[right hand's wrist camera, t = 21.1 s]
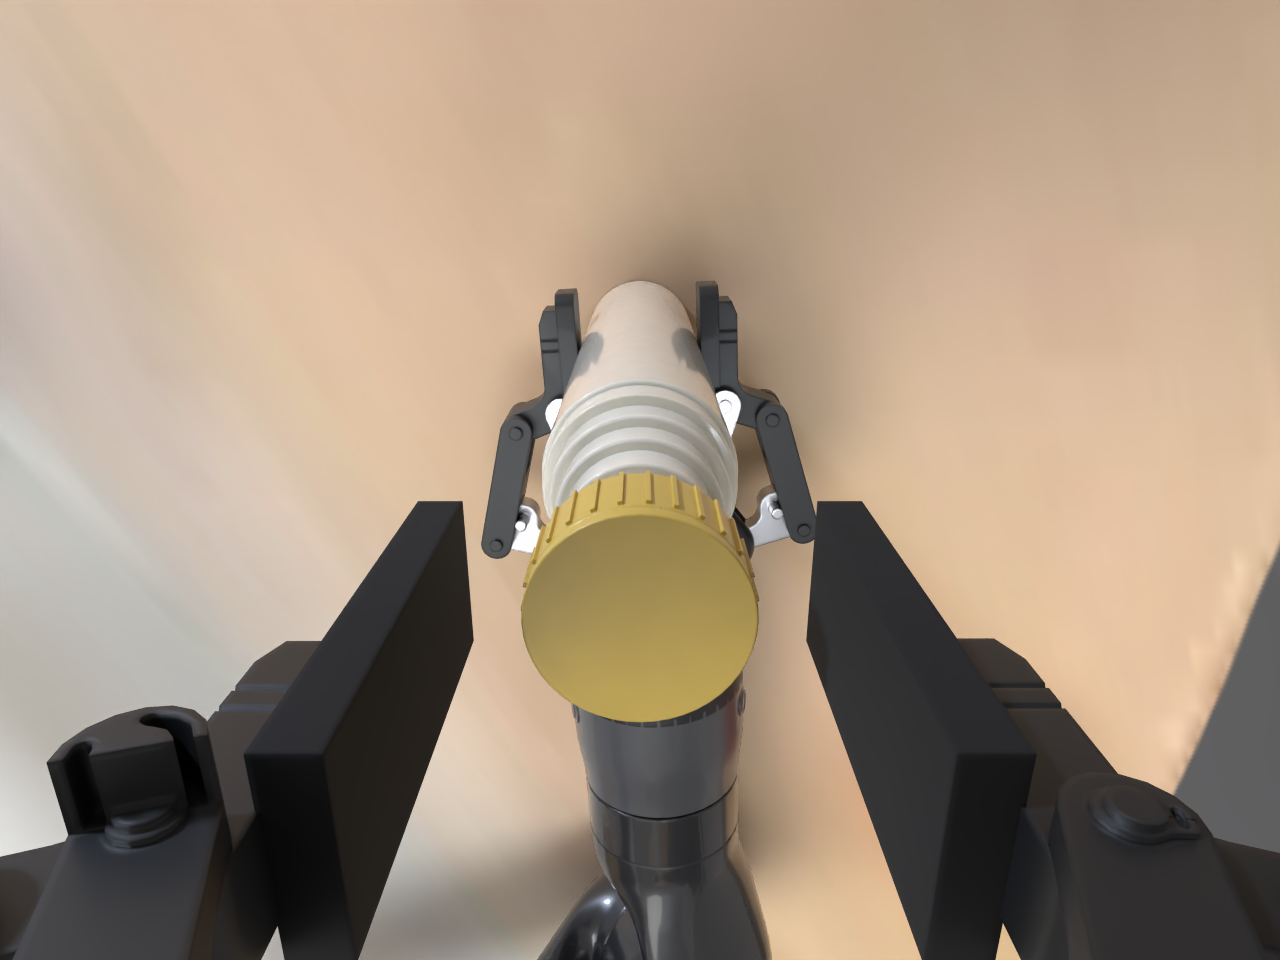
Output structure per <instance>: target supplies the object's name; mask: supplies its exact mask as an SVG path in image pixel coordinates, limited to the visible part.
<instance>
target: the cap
mask: <svg viewBox="0 0 1280 960" xmlns="http://www.w3.org/2000/svg"><path fill="white" fill-rule="evenodd" d="M753 577H755V576H754V573H753V569H752V566H751V562H750V559H749V555H748V552H747V548H746V545H745V542H744V539H743V538H741V539H740V538H739V534H738V530H737V527H736V523H735V520H734V518H733V517H731V518H730V519H729V517H728V516H727V514H726V513H725V512H724V511H723V510H722V508H721V506H720V502H719V501H718V500H717V499H715V500H712V499H711V498H710V497H709V496H708V495H706V494H705V493H703V492H702V491H700V487H699V486H698V485H696V484H695V486H691V485H690V484H687V483H685V482H683V481H680V480H677V479H676V476H674V475H671V477H667V476H663V475H658V474H650V471H645V473H635V474H624V472H619V475H618V476H613V477H609V478H606V479H603V480H599V478H597V479H595V480H594V483H593V484H590V485H589V486H587V487H585V488H583V489H581V490H580V491H578V492H577V490H574V491H573V492H572V494H571V497H570V498H569V499H568V500H567V501H565V502H564V503H563V504H562V505H561V506H560V507H558V506H556V507H555V508H554V510H553V514H552V517H551V519H550V520H549V522H548V523H547V525H546V527H545V526H543V525H542V527H541V529H540V533H539V536H538V540H537V543H536V547H534V549H533V552H532V555H531V559H530V562H529V566H528V569H527V573H526V576H525V580H524V583H523V587H526V590H525V594H524V598H523V602H522V605H521V611H522V630H523V637H524V640H525V644H526V647H527V650H528V653H529V655H530V657H531V659H532V661H533V663H534V665H535V666H536V668H537V670H538V671H539V673H540V674H541V676H542V677H543V678H544V679H545V680H546V682H547V683H548V684H549V685H550V686H551V687H552V688H553V689H554V690H555V691H556V692H558V693H559V694H560V695H561V696H562V697H564V698H565V699H567V700H568V701H569V702H571V703H573V704H574V705H576V706H578V707H580V708H582V709H583V710H586V711H588V712H591V713H593V714H596V715H598V716H602V717H605V718H609V719H614V720H620V721H626V722H653V721H660V720H666V719H671V718H675V717H678V716H682V715H685V714H687V713H689V712H692V711H694V710H697V709H698V708H700V707H702V706H704V705H706V704H707V703H709V702H711V701H712V700H713V699H715V698H716V697H718V696H719V695H720V694H721V693H723V692H724V691H725V690H726V689H727V688H728V687H729V686H730V685H731V684H732V683H733V682H734V680H735V679H736V678H737V677H738V675H739V674H740V673H741V671H742V670H743V668H744V666H745V665H746V663H747V661H748V659H749V657H750V655H751V652H752V650H753V647H754V644H755V640H756V637H757V630H758V604H757V602H758V601H759V596H758V593H757V589H756V586H755V582H754V579H753Z"/></svg>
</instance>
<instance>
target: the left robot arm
mask: <svg viewBox="0 0 1280 960" xmlns="http://www.w3.org/2000/svg"><path fill="white" fill-rule="evenodd" d="M696 315H697V343H698V345H699V348H700V351H701V354H702V357H703V359H704V362H705V365H706V368H707V371H708V373H709V376H710V379H711V382H712V385H713V387H714V390H715V393H716V396H717V399H718V402H719V404H720V407H721V410H722V413H723V416H724V418H725V421H726V424H727V427H728V430H729V432H730V435H731V437H732V434H733V431H734V428H735V425H736V423H738V424H741V425H745V426H748V427H751V428H755V430H756V433H757V437H758V440H759V444H760V447H761V450H762V454H763V457H764V461H765V464H766V467H767V471H768V474H769V478H770V481H771V484H772V485H769V486H766V487H764V488H763V489H762V490H761V491H760V492H759V494H758V496H757V504H758V506H757V510H756V512H755V514H754V515H753V516H752V517H750V518H748V519H745V518H744V517H743V515H742V514H741V513H740V512H739V510H738V509H737V508H736V507H735V509H734V512H733V515H732V517H733V518H734V520H735V523H736V527H737V530H738V534H739V538H740V539H741V538H743V539H744V542H745V545H746V548H747V552H748V555H749V559H751V557H752V554H753V551H754V547H757V546H760V545H764V544H767V543H770V542H774V541H777V540H781V539H784V538H787V537H791V539H792V540H793V541H795V542H797V543H801V544H804V543H809V542H811V541H812V540H814V539H815V526H816V515H815V511H814V508H813V504H812V500H811V497H810V493H809V490H808V486H807V483H806V479H805V475H804V472H803V468H802V465H801V461H800V457H799V454H798V450H797V447H796V443H795V439H794V436H793V432H792V429H791V425H790V421H789V418H788V414H787V412H786V411H785V409H784V407H783V406H782V405H781V404H780V402H779V400H778V398H777V396H776V395H775V394H774V393H773V392H772V391H770V390H766V389H762V390H756V389H753V388H750V387H747V386H744V385H743V384H741V383H740V382H739V381H738V352H737V313H736V311H735V308H734V306H733V303H732V301H731V300H730V298H729V297H728V296H719V294H718V285H717V284H716V282H715V281H702V282H696ZM539 333H540V344H541V354H542V365H543V376H544V386H545V391H544V393H543V394H542V395H541V396H539V397H537V398H535V399H533V400H530V401H528V402H521V403H517V404H516V405H514V406H513V407H512V409H511V411H510V412H509V414H508V416H507V418H506V419H505V421H504V423H503V425H502V427H501V430H500V435H499V441H498V447H497V453H496V459H495V465H494V471H493V477H492V483H491V489H490V495H489V501H488V506H487V512H486V518H485V524H484V530H483V536H482V542H481V546H482V549H483V551H484V553H485V554H486V555H488V556H489V557H491V558H495V559H499V558H503V557H505V556H507V555H508V554H509V552H510V550H515V551H520V552H525V553H530V554H532V552H533V549H534V547H536V543H537V540H538V536H539V533H540V529H541V527H542V525H543V526H545V527H546V525H545V524H544V523H543V522H542V520H541V517H540V507H539V505H538V503H537V502H536V501H535V500H533V499H531V498H528V497H525V492H526V487H527V481H528V476H529V470H530V465H531V460H532V454H533V449H534V443H535V439H537V438H539V437H541V436H544V435H546V434H549V433H550V432H551V429H552V426H553V424H554V421H555V418H556V415H557V412H558V410H559V407H560V404H561V401H562V398H563V396H564V393H565V390H566V387H567V384H568V382H569V379H570V376H571V373H572V370H573V368H574V365H575V362H576V359H577V356H578V354H579V351H580V348H581V345H582V342H581V329H580V316H579V303H578V293H577V289H559V290H558V291H557V292H556V293H555V306H547V307H546V308H545V309H544V311H543V313H542V316H541V320H540V323H539ZM571 705H572V712H573V716H574V718H575V720H576V729H577V736H578V740H579V745H580V749H581V753H582V757H583V760H584V764H585V770H586V775H587V789H588V800H589V811H590V823H591V831H592V838H593V844H594V848H595V852H596V855H597V858H598V861H599V863H600V865H601V868H602V870H603V872H602V873H601V874H599V875H598V876H597V878H596V879H595V880H594V881H593V882H592V883H591V884H590V885H589V886H588V887H587V888H586V890H585V891H584V892H583V894H582V895H581V896H580V898H579V899H578V901H577V902H576V903H575V905H574V906H573V908H572V909H571V911H570V912H569V914H568V915H567V917H566V918H565V920H564V921H563V923H562V924H561V926H560V927H559V928H558V930H557V931H556V933H555V934H554V936H553V937H552V939H551V940H550V942H549V943H548V945H547V946H546V948H545V949H544V950H543V952H542V953H541V954H540V956H539V957H538V959H537V960H772V954H771V947H770V941H769V936H768V931H767V927H766V923H765V919H764V916H763V912H762V909H761V905H760V902H759V898H758V894H757V891H756V887H755V884H754V880H753V877H752V873H751V869H750V866H749V864H748V861H747V858H746V856H745V853H744V850H743V848H742V845H741V842H740V838H739V835H738V757H739V750H740V744H741V738H742V730H743V713H744V708H745V689H744V686H743V670H742V671H741V673H740V674H739V675H738V677H737V678H736V679H735V680H734V682H733V683H732V684H731V685H730V686H729V687H728V688H727V689H726V690H725V691H724V692H723V693H721V694H720V695H719V696H718V697H716V698H715V699H713V700H712V701H711V702H709V703H707V704H706V705H704V706H702V707H700V708H698V709H697V710H694V711H692V712H689V713H687V714H685V715H682V716H678V717H675V718H671V719H666V720H660V721H653V722H626V721H620V720H614V719H609V718H605V717H602V716H598V715H596V714H593V713H591V712H588V711H586V710H583V709H582V708H580V707H578V706H576V705H574V704H573V703H571Z"/></svg>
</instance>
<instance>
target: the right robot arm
mask: <svg viewBox="0 0 1280 960" xmlns="http://www.w3.org/2000/svg"><path fill="white" fill-rule="evenodd" d="M473 641H474V639H473V627H472V614H471V602H470V589H469V577H468V564H467V552H466V539H465V527H464V514H463V501H418V502H417V504H416V505H415V507H414V508H413V509H412V511H411V512H410V514H409V515H408V517H407V518H406V520H405V521H404V522H403V524H402V525H401V527H400V528H399V530H398V531H397V533H396V534H395V535H394V537H393V538H392V540H391V541H390V543H389V544H388V546H387V547H386V548H385V550H384V551H383V553H382V554H381V556H380V557H379V559H378V560H377V561H376V563H375V564H374V566H373V567H372V569H371V570H370V572H369V573H368V574H367V576H366V577H365V579H364V580H363V582H362V583H361V585H360V586H359V587H358V589H357V590H356V592H355V593H354V595H353V596H352V598H351V599H350V600H349V602H348V603H347V605H346V606H345V608H344V609H343V611H342V612H341V613H340V615H339V616H338V618H337V619H336V621H335V622H334V624H333V625H332V626H331V628H330V629H329V631H328V632H327V634H326V635H325V637H324V638H323V639H322V641H286V642H285V643H283V644H282V645H280V646H278V647H277V648H275V649H274V650H272V651H271V652H269V653H268V654H266V655H265V656H263V657H262V658H260V659H259V660H257V661H256V662H254V664H253V665H252V666H251V667H250V669H249V670H248V671H247V672H246V674H245V675H244V676H243V677H242V679H241V680H240V681H239V682H238V684H237V685H236V689H235V691H231V692H230V694H229V695H228V696H227V697H226V699H225V700H224V701H223V702H222V704H221V705H220V706H219V708H220V709H219V711H215V712H214V714H213V715H212V716H211V717H210V719H209V720H208V721H206V719H204V718H203V717H202V716H201V715H200V714H198V713H197V712H196V711H195V710H192V709H187V708H182V707H177V706H160V707H146V708H142V709H138V710H134V711H130V712H126V713H122V714H118V715H115V716H113V717H110V718H108V719H106V720H103V721H101V722H99V723H97V724H94V725H92V726H90V727H87V728H86V729H84V730H83V731H81V732H80V733H78V734H77V735H75V736H74V737H72V738H71V739H69V740H68V741H67V742H65V743H64V744H62V745H61V746H60V748H59V749H58V750H57V751H56V752H55V753H54V755H53V756H52V757H51V758H50V759H49V760H48V762H47V766H48V769H49V773H50V776H51V779H52V783H53V786H54V789H55V792H56V796H57V799H58V802H59V806H60V809H61V812H62V816H63V819H64V822H65V825H66V829H67V832H68V837H67V839H66V841H65V842H62V843H58V844H55V845H51V846H47V847H42V848H38V849H33V850H29V851H24V852H20V853H15V854H11V855H6V856H2V857H0V960H261V959H262V957H263V955H264V953H265V951H266V948H267V946H268V944H269V942H270V940H271V938H272V936H273V934H274V932H275V930H276V928H277V926H278V929H279V934H280V939H281V944H282V949H283V954H284V959H285V960H358V959H359V956H360V953H361V950H362V947H363V945H364V942H365V939H366V936H367V934H368V931H369V928H370V925H371V923H372V920H373V917H374V914H375V912H376V909H377V906H378V903H379V901H380V898H381V895H382V892H383V889H384V887H385V884H386V881H387V878H388V876H389V873H390V870H391V867H392V865H393V862H394V859H395V856H396V854H397V851H398V848H399V845H400V843H401V840H402V837H403V834H404V831H405V829H406V826H407V823H408V820H409V818H410V815H411V812H412V809H413V807H414V804H415V801H416V798H417V796H418V793H419V790H420V787H421V784H422V782H423V779H424V776H425V773H426V771H427V768H428V765H429V762H430V760H431V757H432V754H433V751H434V749H435V746H436V743H437V740H438V738H439V735H440V732H441V729H442V726H443V724H444V721H445V718H446V715H447V713H448V710H449V707H450V704H451V702H452V699H453V696H454V693H455V691H456V688H457V685H458V682H459V680H460V677H461V674H462V671H463V668H464V666H465V663H466V660H467V657H468V655H469V652H470V649H471V646H472V644H473ZM806 641H807V644H808V646H809V649H810V652H811V655H812V657H813V660H814V663H815V666H816V668H817V671H818V674H819V677H820V680H821V682H822V685H823V688H824V691H825V693H826V696H827V699H828V702H829V704H830V707H831V710H832V713H833V715H834V718H835V721H836V724H837V726H838V729H839V732H840V735H841V738H842V740H843V743H844V746H845V749H846V751H847V754H848V757H849V760H850V762H851V765H852V768H853V771H854V773H855V776H856V779H857V782H858V785H859V787H860V790H861V793H862V796H863V798H864V801H865V804H866V807H867V809H868V812H869V815H870V818H871V820H872V823H873V826H874V829H875V831H876V834H877V837H878V840H879V843H880V845H881V848H882V851H883V854H884V856H885V859H886V862H887V865H888V867H889V870H890V873H891V876H892V878H893V881H894V884H895V887H896V889H897V892H898V895H899V898H900V901H901V903H902V906H903V909H904V912H905V914H906V917H907V920H908V923H909V925H910V928H911V931H912V934H913V936H914V939H915V942H916V945H917V947H918V950H919V953H920V956H921V959H922V960H995V959H996V954H997V949H998V944H999V939H1000V934H1001V929H1002V924H1004V926H1005V928H1006V930H1007V932H1008V934H1009V936H1010V938H1011V940H1012V942H1013V944H1014V946H1015V948H1016V950H1017V952H1018V954H1019V956H1020V959H1021V960H1280V853H1276V852H1272V851H1268V850H1263V849H1259V848H1254V847H1249V846H1245V845H1240V844H1236V843H1231V842H1228V841H1224V840H1221V839H1217V838H1214V837H1213V835H1212V833H1211V832H1210V831H1209V829H1208V828H1207V827H1206V825H1205V824H1204V822H1203V821H1202V820H1201V818H1200V817H1199V816H1198V814H1197V813H1195V812H1194V811H1193V810H1192V809H1190V808H1189V807H1188V806H1186V805H1185V804H1184V803H1183V802H1181V801H1180V800H1179V799H1177V798H1176V797H1175V796H1173V795H1171V794H1169V793H1167V792H1165V791H1163V790H1161V789H1159V788H1157V787H1155V786H1153V785H1151V784H1149V783H1147V782H1144V781H1141V780H1137V779H1134V778H1130V777H1127V776H1123V775H1120V774H1118V773H1117V772H1116V771H1115V770H1114V768H1113V767H1112V766H1111V765H1110V763H1109V762H1108V761H1107V760H1106V758H1105V757H1104V756H1103V755H1102V753H1101V752H1100V751H1099V750H1098V748H1097V747H1096V746H1095V745H1094V743H1093V742H1092V741H1091V740H1090V739H1089V737H1088V736H1087V735H1086V734H1085V732H1084V731H1083V730H1082V729H1081V727H1080V726H1079V725H1078V724H1077V722H1076V721H1075V720H1074V719H1073V717H1072V716H1071V715H1070V714H1069V712H1068V711H1067V710H1066V709H1062V708H1061V703H1060V701H1059V700H1058V699H1057V698H1056V696H1055V695H1054V694H1053V693H1052V691H1051V690H1050V689H1049V688H1045V683H1044V681H1043V680H1042V679H1041V678H1040V676H1039V675H1038V674H1037V673H1036V672H1035V670H1034V669H1033V668H1032V667H1031V665H1030V664H1029V663H1028V662H1027V660H1026V659H1024V658H1023V657H1021V656H1020V655H1018V654H1017V653H1015V652H1014V651H1012V650H1011V649H1009V648H1008V647H1006V646H1005V645H1003V644H1001V643H1000V642H998V641H997V640H995V639H957V638H956V637H955V635H954V634H953V632H952V631H951V629H950V628H949V626H948V625H947V624H946V622H945V621H944V619H943V618H942V616H941V615H940V613H939V612H938V611H937V609H936V608H935V606H934V605H933V603H932V602H931V600H930V599H929V598H928V596H927V595H926V593H925V592H924V590H923V589H922V587H921V586H920V585H919V583H918V582H917V580H916V579H915V577H914V576H913V574H912V573H911V572H910V570H909V569H908V567H907V566H906V564H905V563H904V561H903V560H902V559H901V557H900V556H899V554H898V553H897V551H896V550H895V548H894V547H893V546H892V544H891V543H890V541H889V540H888V538H887V537H886V535H885V534H884V533H883V531H882V530H881V528H880V527H879V525H878V524H877V522H876V521H875V520H874V518H873V517H872V515H871V514H870V512H869V511H868V509H867V508H866V507H865V505H864V504H863V502H862V501H817V514H816V526H815V539H814V552H813V564H812V577H811V589H810V602H809V614H808V627H807V639H806Z"/></svg>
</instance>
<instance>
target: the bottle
mask: <svg viewBox="0 0 1280 960" xmlns="http://www.w3.org/2000/svg"><path fill="white" fill-rule="evenodd" d="M645 471H650V474H658V475H663V476H667V477H671V475H674V476H676V479H677V480H680V481H683V482H685V483H687V484H690V485H691V486H695V484H696V485H698V486H699V487H700V491H702V492H703V493H705V494H706V495H708V496H709V497H710V498H711V499H712V500H715V499H717V500H718V501H719V502H720V506H721V508H722V510H723V511H724V512H725V513H726V514H727V516H728V517H729V519H730V518H731V517H732V515H733V512H734V509H735V504H736V500H737V491H738V461H737V455H736V450H735V446H734V444H733V441H732V438H731V435H730V432H729V430H728V427H727V424H726V421H725V418H724V416H723V413H722V410H721V407H720V404H719V402H718V399H717V396H716V393H715V390H714V387H713V385H712V382H711V379H710V376H709V373H708V371H707V368H706V365H705V362H704V359H703V357H702V354H701V351H700V348H699V345H698V343H697V340H696V337H695V334H694V331H693V328H692V326H691V323H690V320H689V317H688V314H687V312H686V310H685V308H684V306H683V304H682V303H681V301H680V300H679V299H678V298H677V297H676V296H675V295H674V294H673V293H672V292H671V291H670V290H668V289H666V288H665V287H663V286H661V285H658V284H655V283H652V282H647V281H634V282H628V283H624V284H622V285H619V286H617V287H615V288H614V289H612V290H611V291H609V292H608V293H607V294H606V295H605V296H604V297H603V298H602V299H601V300H600V302H599V303H598V304H597V306H596V308H595V310H594V312H593V314H592V317H591V320H590V323H589V326H588V328H587V331H586V334H585V337H584V340H583V342H582V345H581V348H580V351H579V354H578V356H577V359H576V362H575V365H574V368H573V370H572V373H571V376H570V379H569V382H568V384H567V387H566V390H565V393H564V396H563V398H562V401H561V404H560V407H559V410H558V412H557V415H556V418H555V421H554V424H553V426H552V429H551V432H550V435H549V438H548V440H547V443H546V447H545V451H544V454H543V462H542V493H543V499H544V505H545V508H546V512H547V515H548V517H549V520H550V519H551V517H552V514H553V510H554V508H555V507H556V506H558V507H560V506H561V505H562V504H563V503H564V502H565V501H567V500H568V499H569V498H570V497H571V494H572V492H573V491H574V490H577V492H578V491H580V490H581V489H583V488H585V487H587V486H589V485H590V484H593V483H594V480H595V479H597V478H599V480H603V479H606V478H609V477H613V476H618V475H619V472H624V474H635V473H645Z"/></svg>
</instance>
